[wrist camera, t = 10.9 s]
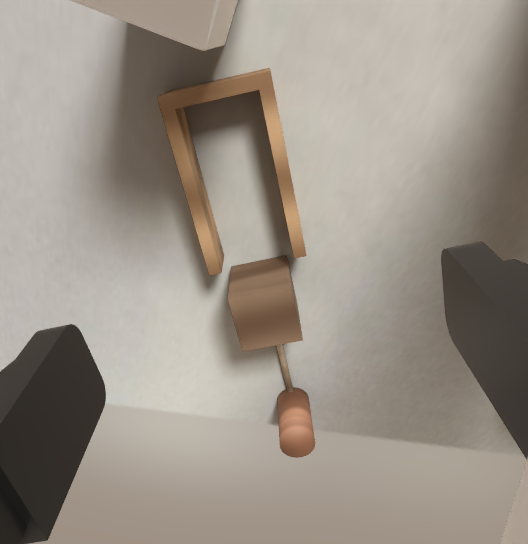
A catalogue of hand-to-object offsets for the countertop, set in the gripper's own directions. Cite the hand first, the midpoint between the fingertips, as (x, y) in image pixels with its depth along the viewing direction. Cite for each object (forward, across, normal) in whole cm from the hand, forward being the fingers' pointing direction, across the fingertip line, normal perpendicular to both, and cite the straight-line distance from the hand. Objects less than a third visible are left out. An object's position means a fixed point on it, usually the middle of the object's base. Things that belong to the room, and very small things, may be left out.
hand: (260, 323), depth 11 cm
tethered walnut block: (+30, +3, +21) cm, 37 cm away
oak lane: (+30, +3, +4) cm, 30 cm away
